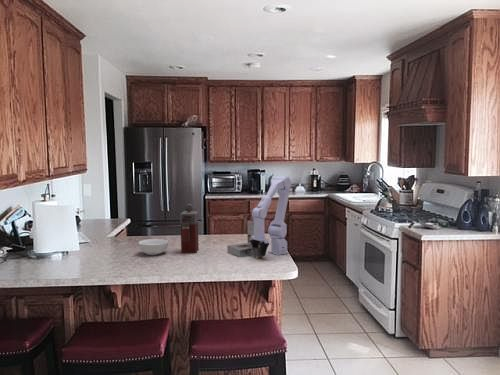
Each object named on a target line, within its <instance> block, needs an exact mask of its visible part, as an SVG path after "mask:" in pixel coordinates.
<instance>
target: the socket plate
mask: <svg viewBox="0 0 500 375" xmlns="http://www.w3.org/2000/svg"><path fill="white" fill-rule="evenodd" d="M226 252H227V253H228V254H230V253H231V255H234V256H235V257H238V258H243V257H249V256H250V257H251V256H254V251H253V247H252V245H251V244H248V242H245V243H244V242H243V243H237V244H229V245H228V244H227V251H226Z"/></svg>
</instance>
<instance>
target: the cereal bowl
mask: <svg viewBox="0 0 500 375" xmlns="http://www.w3.org/2000/svg"><path fill="white" fill-rule="evenodd" d="M168 246H169V240H167V239H161V238H160V239H159V238H157V239H156V238H151V239H150V238H149V239H143V240H140V241H138V249H139V250H140V252H142V253H144V254H146V255H148V256H156V255H157V254H158V255H160V254H162V253H164V252H165V251H166V250H167V249H168V248H169V247H168Z"/></svg>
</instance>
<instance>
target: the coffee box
mask: <svg viewBox="0 0 500 375" xmlns="http://www.w3.org/2000/svg"><path fill="white" fill-rule="evenodd" d="M252 235H254V220H253V219H249V220H247V243H248V244H251V243H250V240H252V239H251V236H252ZM259 243H262V242H261V241H259ZM251 245H252V244H251ZM258 247H260V245H258Z"/></svg>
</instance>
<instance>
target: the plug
mask: <svg viewBox="0 0 500 375" xmlns="http://www.w3.org/2000/svg"><path fill="white" fill-rule="evenodd" d="M253 256H254V257H255V259H259V258H261V259H264V258H265V256H266V254H265V255H264V256H262V255H261V248H260V246H258V247H255V248H254V255H253Z"/></svg>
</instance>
